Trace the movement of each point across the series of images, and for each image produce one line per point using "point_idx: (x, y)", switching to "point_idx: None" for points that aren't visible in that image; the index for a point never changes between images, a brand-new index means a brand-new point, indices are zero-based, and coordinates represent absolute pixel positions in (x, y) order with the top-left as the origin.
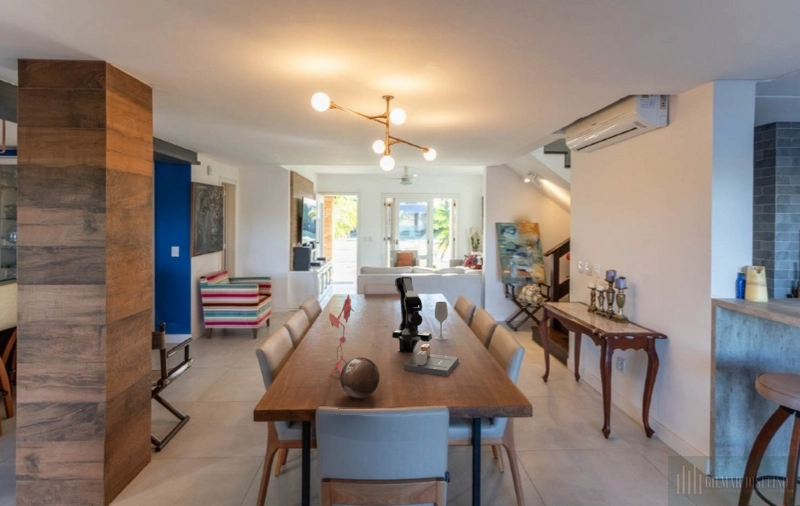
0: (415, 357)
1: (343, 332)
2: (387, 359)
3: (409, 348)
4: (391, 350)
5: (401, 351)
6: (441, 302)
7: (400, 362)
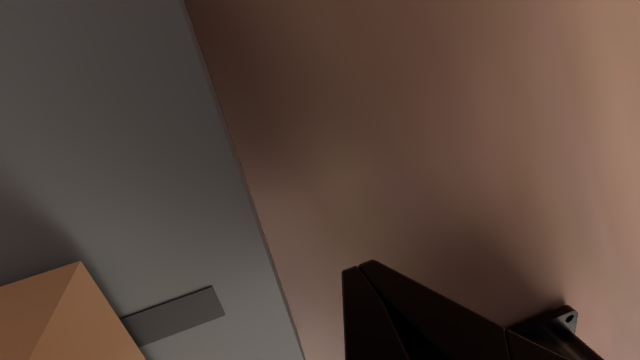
0: (194, 192)
1: None
2: (612, 13)
3: (447, 304)
4: (627, 286)
5: (542, 320)
6: None
7: (405, 5)
